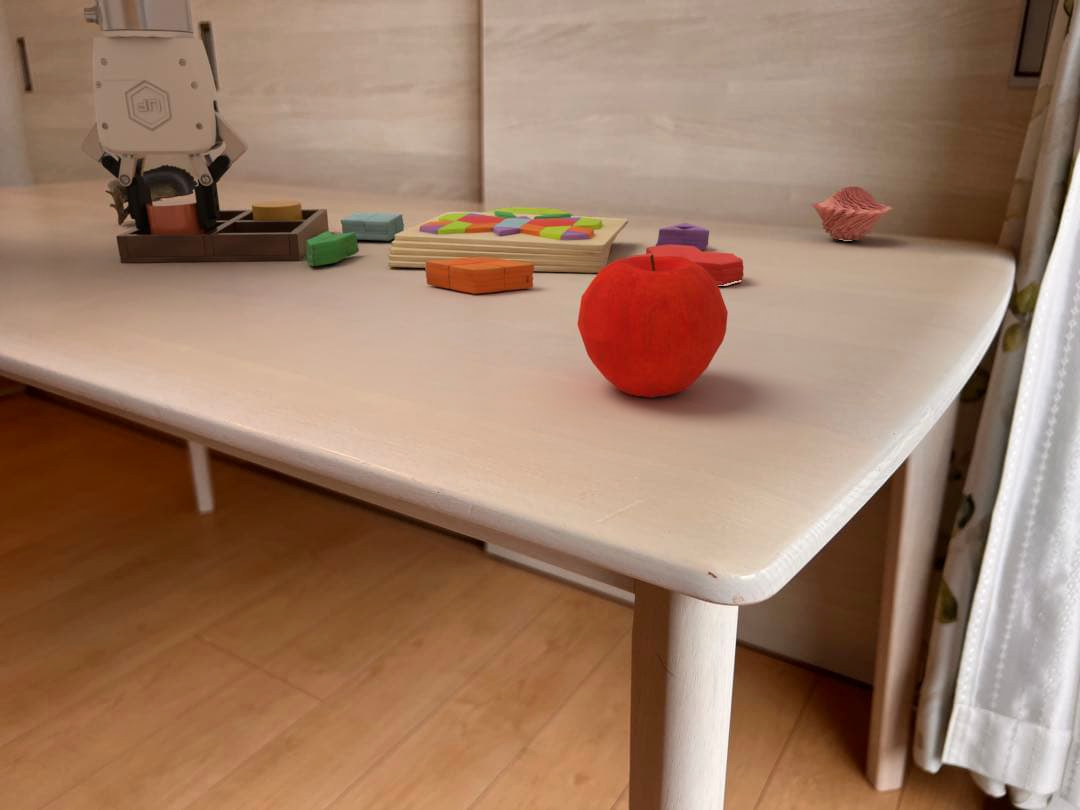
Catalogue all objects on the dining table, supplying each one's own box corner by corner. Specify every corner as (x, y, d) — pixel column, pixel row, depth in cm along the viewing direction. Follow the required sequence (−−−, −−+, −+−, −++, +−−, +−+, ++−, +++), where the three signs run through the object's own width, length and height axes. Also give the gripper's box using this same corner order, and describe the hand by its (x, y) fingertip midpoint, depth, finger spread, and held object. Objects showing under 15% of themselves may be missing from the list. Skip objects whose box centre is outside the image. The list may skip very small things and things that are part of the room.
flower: (882, 236, 93) (890, 183, 91) (891, 249, 85) (900, 192, 83) (806, 233, 94) (812, 181, 92) (809, 245, 87) (815, 190, 85)
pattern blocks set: (272, 296, 67) (268, 257, 66) (348, 227, 98) (345, 199, 97) (756, 292, 68) (760, 254, 67) (678, 225, 99) (680, 198, 98)
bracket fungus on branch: (132, 220, 96) (208, 198, 101) (101, 164, 96) (178, 144, 101) (126, 248, 102) (197, 226, 107) (96, 195, 102) (169, 176, 107)
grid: (120, 262, 79) (115, 235, 79) (178, 233, 95) (175, 210, 94) (299, 260, 80) (297, 233, 80) (328, 231, 96) (327, 208, 95)
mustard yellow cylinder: (249, 236, 89) (246, 207, 88) (261, 228, 93) (258, 200, 92) (298, 235, 89) (295, 206, 88) (307, 228, 94) (305, 200, 93)
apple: (666, 358, 52) (672, 235, 50) (754, 397, 46) (767, 259, 43) (551, 378, 49) (551, 248, 46) (629, 424, 42) (635, 275, 39)
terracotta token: (143, 239, 81) (137, 206, 79) (161, 230, 85) (156, 199, 84) (197, 237, 81) (192, 205, 80) (212, 228, 85) (208, 198, 84)
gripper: (27, 17, 72) (68, 234, 79) (234, 19, 73) (258, 233, 80) (67, 23, 79) (102, 221, 86) (255, 24, 80) (276, 220, 87)
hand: (177, 225), depth 83 cm, fingers open, 5 cm apart
